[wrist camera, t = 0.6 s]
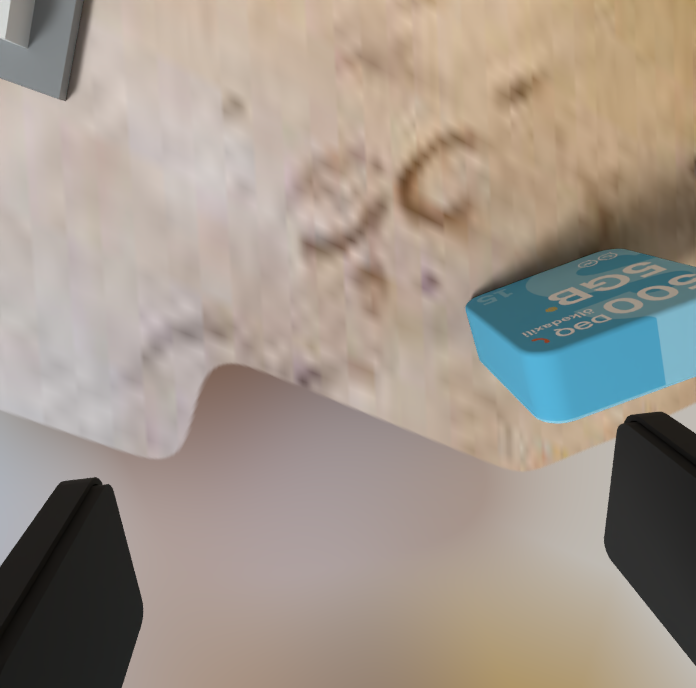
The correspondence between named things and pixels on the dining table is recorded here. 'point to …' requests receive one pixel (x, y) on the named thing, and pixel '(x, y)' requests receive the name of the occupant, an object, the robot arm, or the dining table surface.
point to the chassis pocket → (39, 43)
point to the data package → (589, 333)
